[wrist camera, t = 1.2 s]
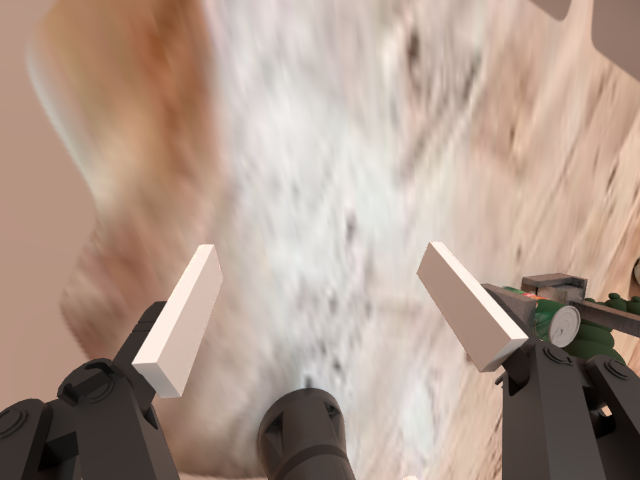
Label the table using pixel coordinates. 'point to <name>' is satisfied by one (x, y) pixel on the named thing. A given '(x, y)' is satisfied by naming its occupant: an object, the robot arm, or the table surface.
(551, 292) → the ball-tipped square rod
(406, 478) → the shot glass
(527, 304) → the press frame
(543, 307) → the canned tomato
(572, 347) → the toy figurine
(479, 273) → the table surface
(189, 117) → the table surface
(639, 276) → the decorative stone
